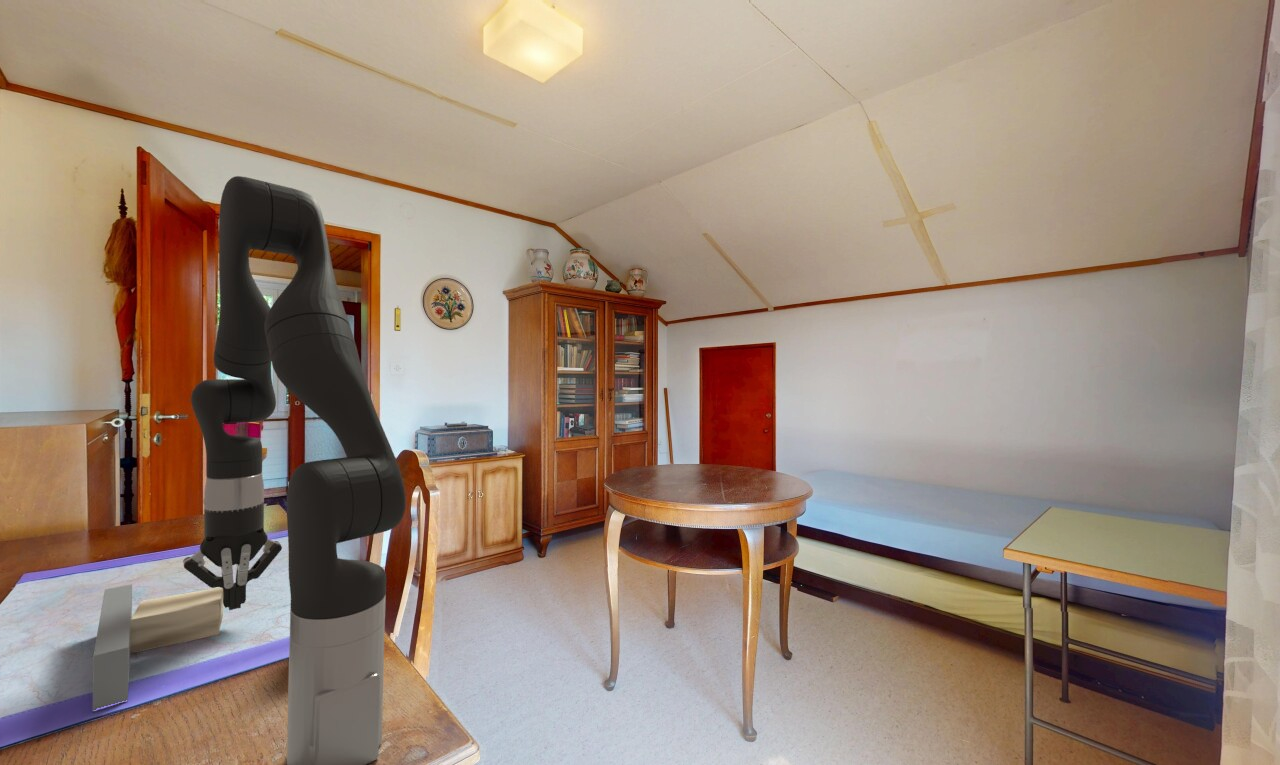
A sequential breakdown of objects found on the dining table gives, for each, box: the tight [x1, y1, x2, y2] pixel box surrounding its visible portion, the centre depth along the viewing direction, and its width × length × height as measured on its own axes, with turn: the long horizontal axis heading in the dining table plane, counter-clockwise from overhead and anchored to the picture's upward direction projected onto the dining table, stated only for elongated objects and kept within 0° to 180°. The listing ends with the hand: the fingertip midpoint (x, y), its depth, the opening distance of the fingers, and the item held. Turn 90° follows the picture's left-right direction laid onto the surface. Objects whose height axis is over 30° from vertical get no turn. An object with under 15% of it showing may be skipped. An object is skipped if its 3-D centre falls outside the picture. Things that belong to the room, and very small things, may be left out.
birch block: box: [130, 587, 224, 654], centre depth 79 cm, size 7×10×5 cm
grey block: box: [92, 583, 133, 711], centre depth 71 cm, size 24×3×7 cm, turn 45°
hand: (234, 607), depth 82 cm, fingers closed
